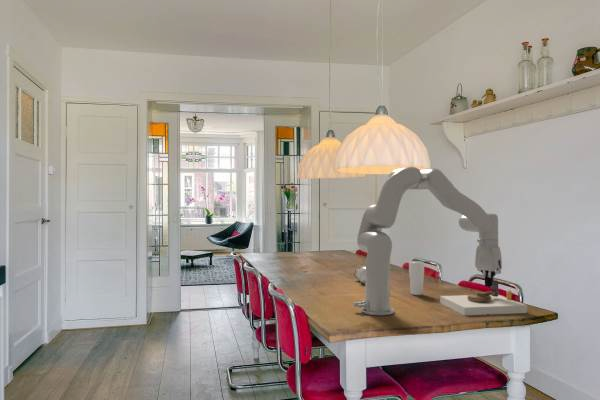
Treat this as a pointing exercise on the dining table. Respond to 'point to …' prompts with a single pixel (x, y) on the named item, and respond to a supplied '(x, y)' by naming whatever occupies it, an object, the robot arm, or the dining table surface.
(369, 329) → the dining table surface
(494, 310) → the stand
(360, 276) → the potion bottle
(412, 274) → the drinking glass
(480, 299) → the brown l-shaped piece
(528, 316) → the dining table surface
